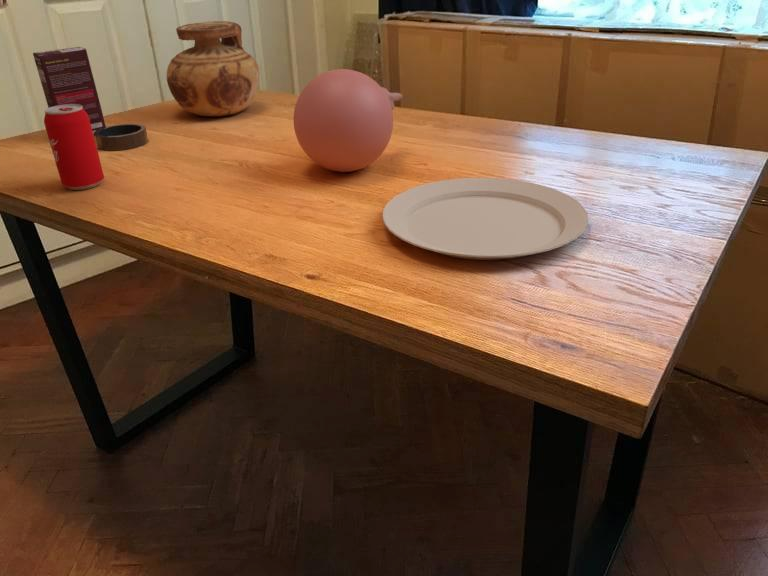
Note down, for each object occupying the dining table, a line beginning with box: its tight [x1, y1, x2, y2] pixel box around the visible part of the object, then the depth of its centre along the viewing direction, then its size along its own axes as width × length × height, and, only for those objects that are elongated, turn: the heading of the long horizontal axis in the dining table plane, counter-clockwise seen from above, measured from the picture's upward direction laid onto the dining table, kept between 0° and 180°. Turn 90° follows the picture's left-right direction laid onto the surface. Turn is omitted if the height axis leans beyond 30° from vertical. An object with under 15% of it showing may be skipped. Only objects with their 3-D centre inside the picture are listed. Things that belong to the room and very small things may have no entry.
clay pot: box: [166, 20, 261, 118], centre depth 138 cm, size 19×19×20 cm
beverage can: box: [43, 104, 105, 191], centre depth 101 cm, size 6×6×12 cm
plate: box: [382, 177, 590, 261], centre depth 84 cm, size 26×26×2 cm
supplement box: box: [32, 46, 107, 134], centre depth 126 cm, size 9×5×16 cm, turn 130°
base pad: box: [93, 123, 149, 152], centre depth 123 cm, size 9×9×2 cm
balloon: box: [293, 68, 404, 173], centre depth 103 cm, size 15×20×15 cm
